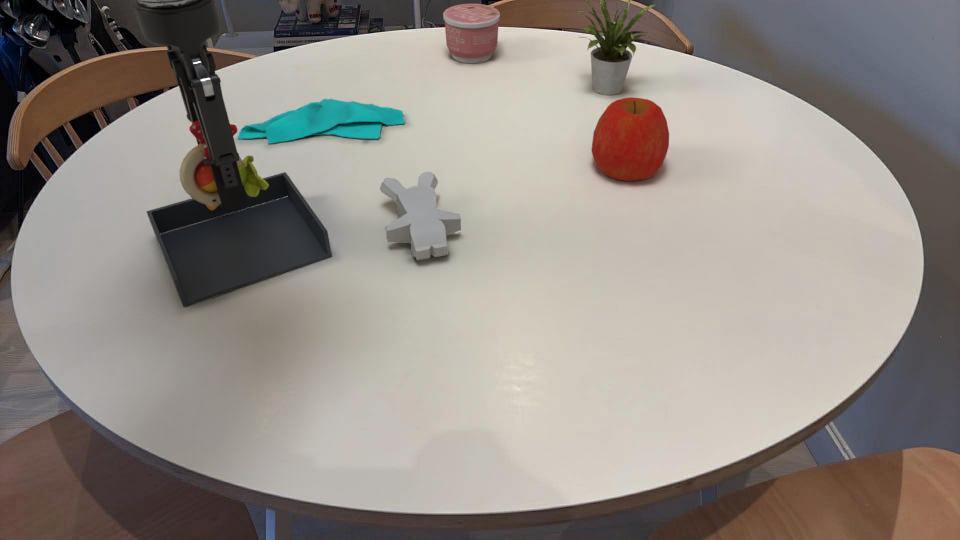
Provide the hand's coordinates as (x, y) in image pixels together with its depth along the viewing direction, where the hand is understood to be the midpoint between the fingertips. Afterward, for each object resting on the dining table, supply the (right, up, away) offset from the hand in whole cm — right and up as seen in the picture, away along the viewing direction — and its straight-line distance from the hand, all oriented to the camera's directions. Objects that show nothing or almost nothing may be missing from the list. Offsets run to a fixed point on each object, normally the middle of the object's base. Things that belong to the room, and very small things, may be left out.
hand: (228, 193), depth 83 cm
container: (+28, +32, +51) cm, 67 cm away
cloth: (+5, +15, +31) cm, 34 cm away
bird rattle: (0, -1, 0) cm, 1 cm away
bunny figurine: (+22, -4, +8) cm, 24 cm away
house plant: (+51, +23, +40) cm, 69 cm away
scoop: (-3, -3, +9) cm, 10 cm away
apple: (+51, +6, +20) cm, 56 cm away
